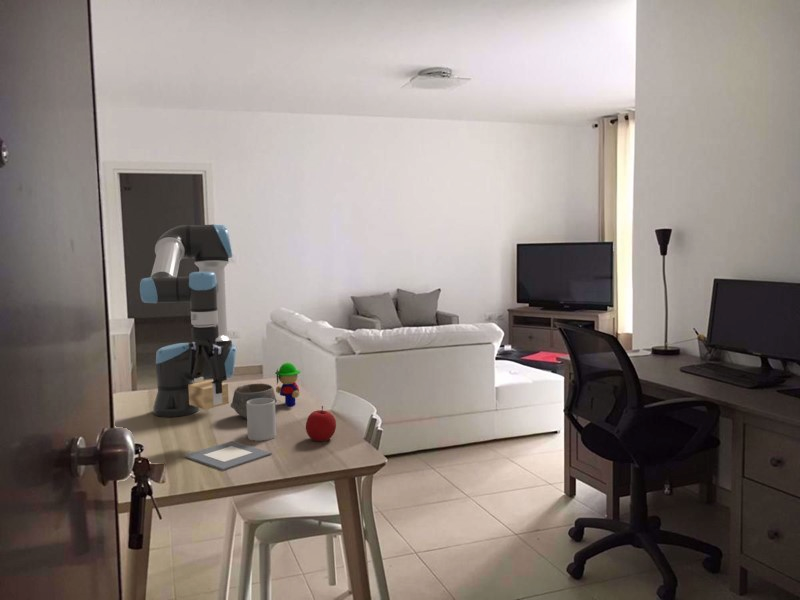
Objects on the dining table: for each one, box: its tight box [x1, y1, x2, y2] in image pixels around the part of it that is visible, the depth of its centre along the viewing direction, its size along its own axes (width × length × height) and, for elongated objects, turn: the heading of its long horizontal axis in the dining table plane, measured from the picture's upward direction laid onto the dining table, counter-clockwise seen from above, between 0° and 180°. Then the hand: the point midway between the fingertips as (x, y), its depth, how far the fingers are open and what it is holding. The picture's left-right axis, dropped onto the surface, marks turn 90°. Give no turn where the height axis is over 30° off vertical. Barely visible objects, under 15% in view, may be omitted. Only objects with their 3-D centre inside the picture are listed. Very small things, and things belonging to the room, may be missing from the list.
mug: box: [246, 398, 277, 442], centre depth 210 cm, size 12×8×11 cm
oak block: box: [188, 379, 229, 410], centre depth 203 cm, size 8×8×6 cm
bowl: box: [230, 383, 278, 419], centre depth 231 cm, size 14×15×10 cm
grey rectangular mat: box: [184, 440, 273, 471], centre depth 192 cm, size 18×16×1 cm
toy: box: [274, 362, 301, 407], centre depth 247 cm, size 11×9×15 cm
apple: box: [305, 405, 337, 442], centre depth 205 cm, size 9×9×10 cm
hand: (208, 401), depth 203 cm, fingers closed on oak block, 8 cm apart
